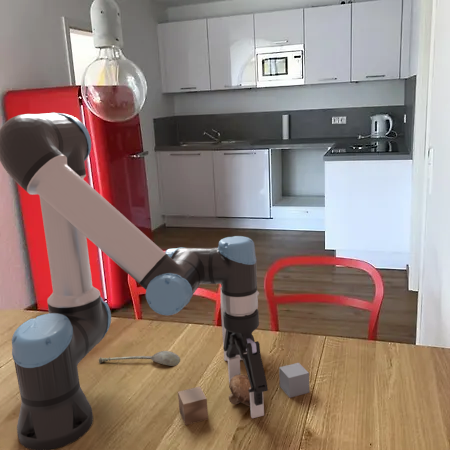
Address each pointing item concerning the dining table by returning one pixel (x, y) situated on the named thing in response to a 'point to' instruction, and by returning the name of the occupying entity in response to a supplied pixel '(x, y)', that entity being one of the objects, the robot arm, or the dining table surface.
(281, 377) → the slate-grey block
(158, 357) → the soupspoon
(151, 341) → the dining table surface
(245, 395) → the mushroom
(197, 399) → the walnut block
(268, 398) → the dining table surface
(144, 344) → the dining table surface
